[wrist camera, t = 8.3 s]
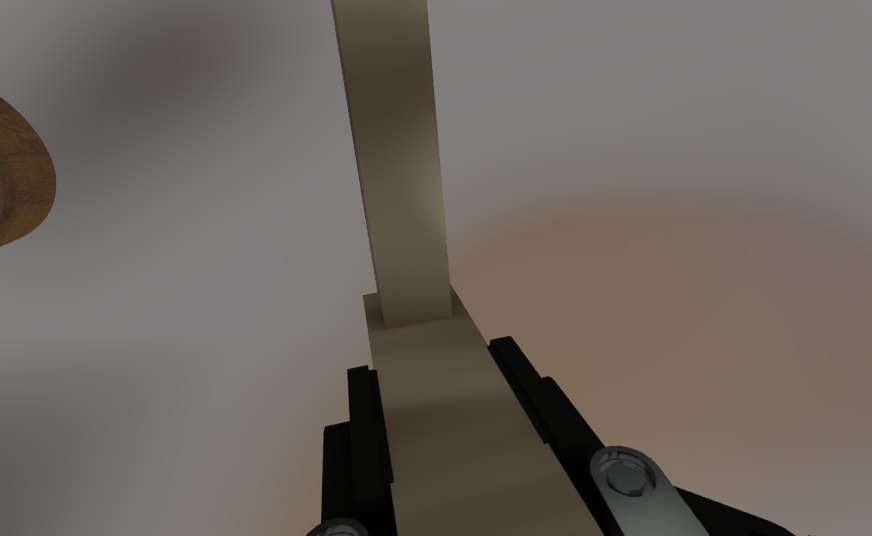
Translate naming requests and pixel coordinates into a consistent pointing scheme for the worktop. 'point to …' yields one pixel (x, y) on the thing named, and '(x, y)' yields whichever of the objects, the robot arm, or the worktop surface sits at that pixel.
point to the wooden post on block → (434, 311)
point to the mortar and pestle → (22, 176)
